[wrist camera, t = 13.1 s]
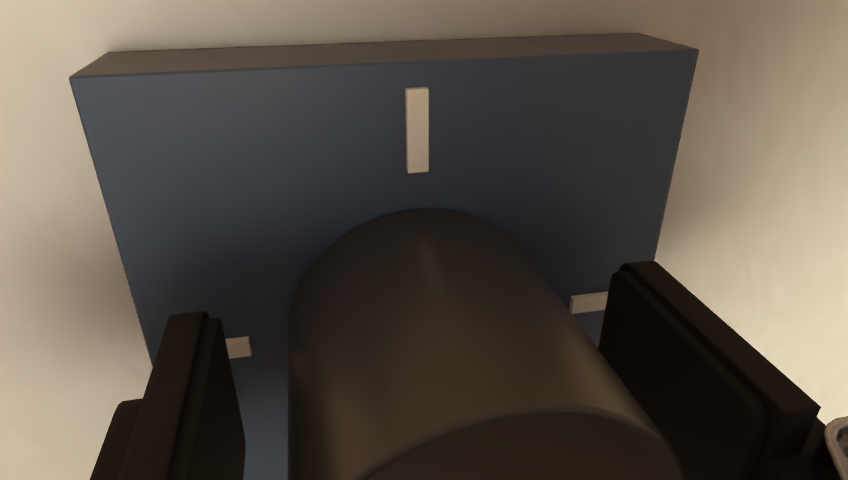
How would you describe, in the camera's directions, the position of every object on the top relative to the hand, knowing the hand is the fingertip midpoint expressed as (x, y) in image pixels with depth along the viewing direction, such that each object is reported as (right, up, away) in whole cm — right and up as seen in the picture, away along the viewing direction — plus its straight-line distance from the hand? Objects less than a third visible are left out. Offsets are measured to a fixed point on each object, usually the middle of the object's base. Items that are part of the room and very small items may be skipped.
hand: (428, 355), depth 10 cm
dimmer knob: (0, 0, +1) cm, 1 cm away
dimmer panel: (-1, +1, +3) cm, 3 cm away
